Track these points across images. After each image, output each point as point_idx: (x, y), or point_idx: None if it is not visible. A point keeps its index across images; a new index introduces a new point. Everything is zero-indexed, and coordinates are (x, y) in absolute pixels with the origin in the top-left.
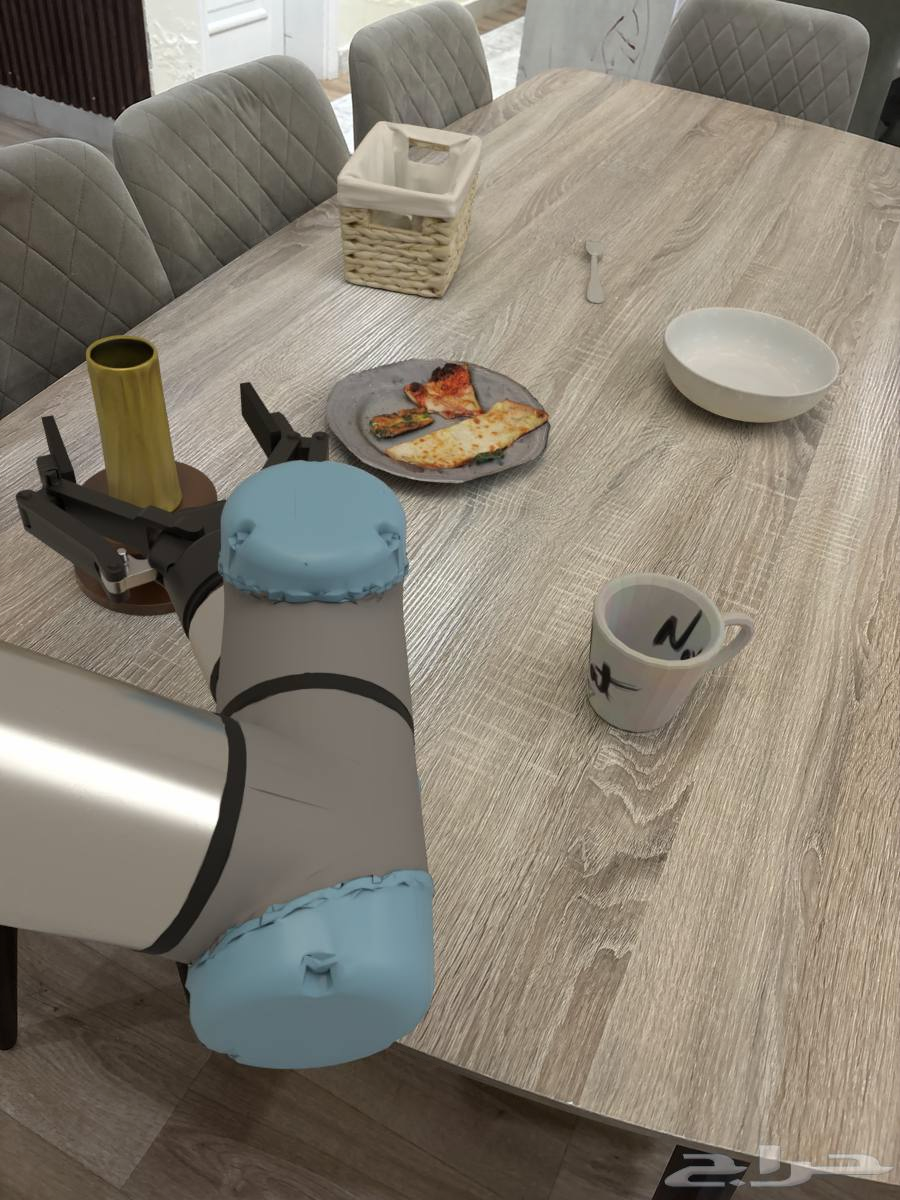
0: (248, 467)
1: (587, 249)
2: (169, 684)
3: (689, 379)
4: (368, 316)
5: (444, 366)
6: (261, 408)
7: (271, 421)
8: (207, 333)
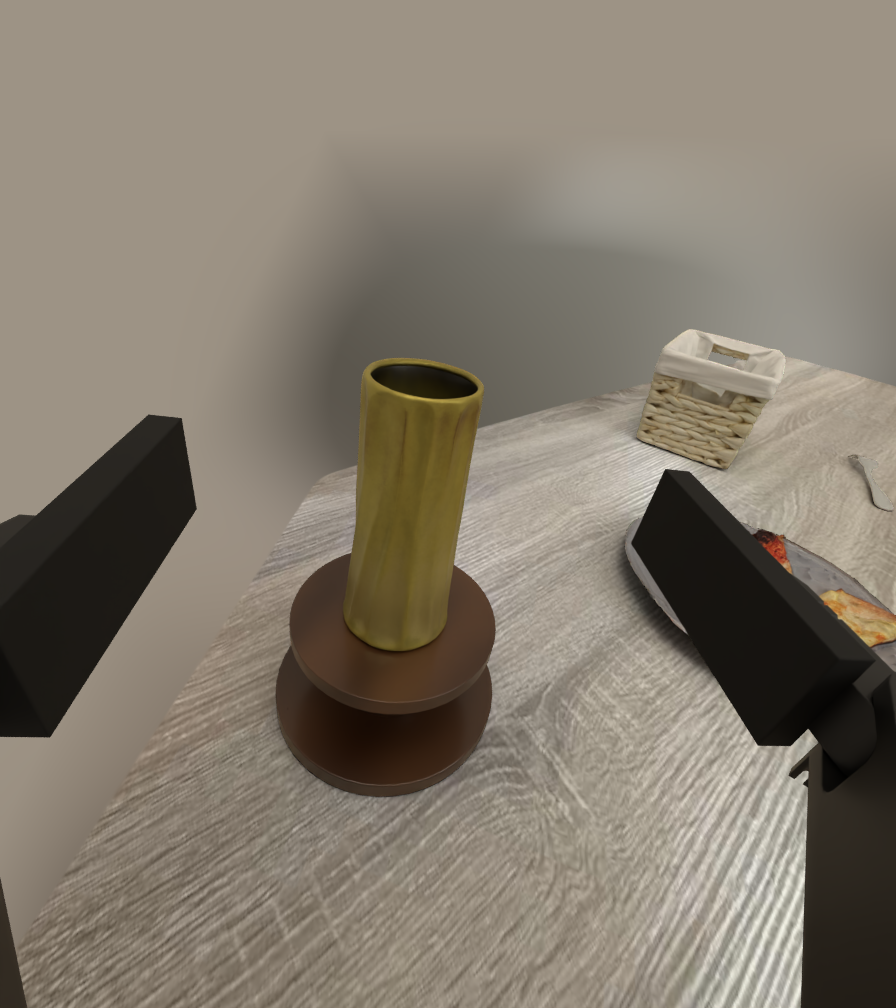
0: (528, 585)
1: (860, 462)
2: (304, 1002)
3: None
4: (657, 468)
5: (757, 532)
6: (753, 549)
7: (813, 607)
8: (514, 448)
